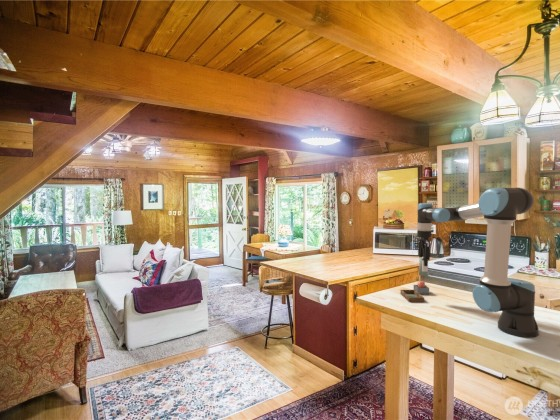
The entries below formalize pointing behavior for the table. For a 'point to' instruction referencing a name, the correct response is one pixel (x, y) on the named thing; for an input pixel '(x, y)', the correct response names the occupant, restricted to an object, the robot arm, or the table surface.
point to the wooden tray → (412, 296)
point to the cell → (421, 268)
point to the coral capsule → (421, 284)
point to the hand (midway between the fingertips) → (423, 270)
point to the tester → (421, 289)
